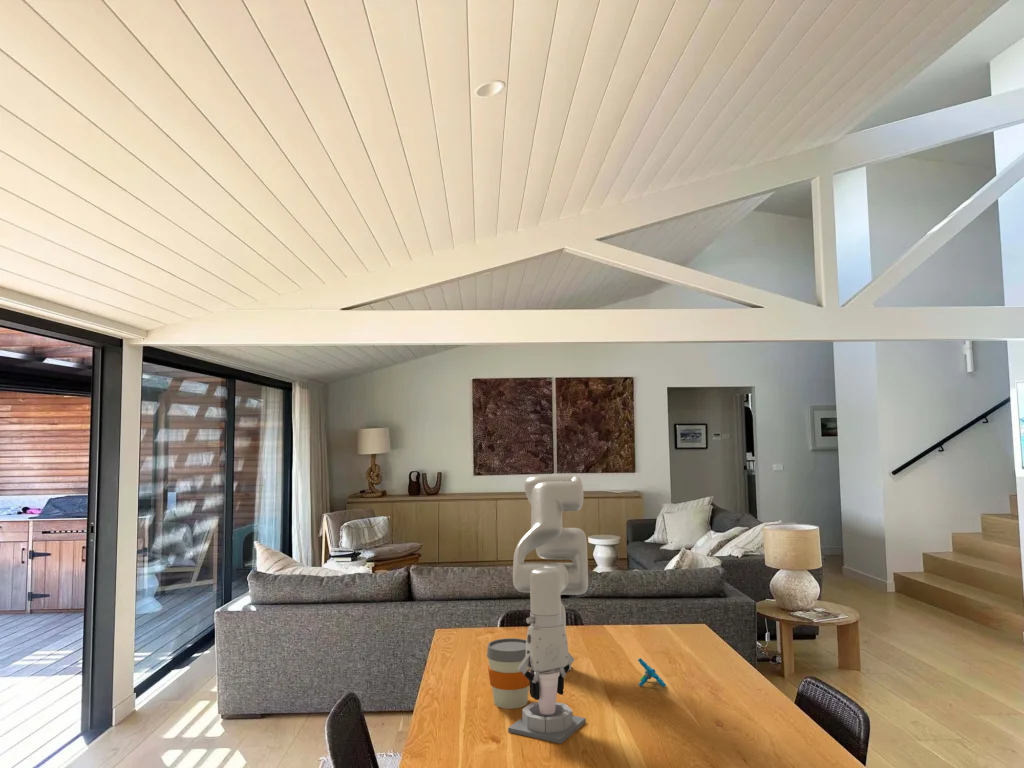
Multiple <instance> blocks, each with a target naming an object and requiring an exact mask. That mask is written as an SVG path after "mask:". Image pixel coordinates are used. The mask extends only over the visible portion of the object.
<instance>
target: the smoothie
mask: <svg viewBox="0 0 1024 768" xmlns="http://www.w3.org/2000/svg"><path fill="white" fill-rule="evenodd" d="M559 676H560V671H559V669H553V670H548V671H542V672H540V673H539V676H538V680H537V682H538V683H539V700H537V702H539V709H540V713H542V714H546V715H549V714H553V713H555V707H556V702H557V694H558V693H557V686H558V677H559Z"/></svg>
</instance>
